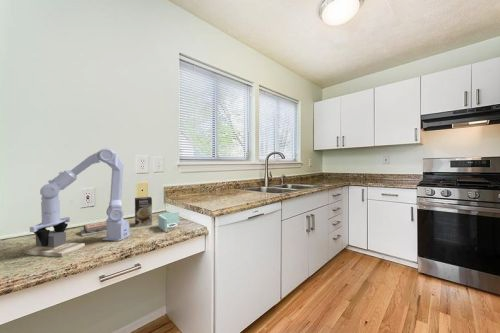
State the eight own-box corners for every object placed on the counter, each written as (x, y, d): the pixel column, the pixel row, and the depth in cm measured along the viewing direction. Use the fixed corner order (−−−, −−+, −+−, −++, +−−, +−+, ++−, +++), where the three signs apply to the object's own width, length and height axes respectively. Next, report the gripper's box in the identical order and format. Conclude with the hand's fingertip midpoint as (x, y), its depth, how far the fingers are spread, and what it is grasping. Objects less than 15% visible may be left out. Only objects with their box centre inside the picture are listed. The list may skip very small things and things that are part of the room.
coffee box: (135, 227, 124) (134, 199, 123) (134, 224, 129) (134, 197, 129) (152, 224, 128) (152, 197, 127) (151, 222, 134) (151, 196, 133)
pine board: (84, 246, 96) (84, 243, 96) (62, 256, 86) (61, 253, 86) (50, 244, 98) (50, 241, 98) (24, 254, 88) (24, 250, 88)
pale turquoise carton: (165, 233, 115) (165, 219, 115) (158, 227, 124) (158, 214, 124) (186, 228, 123) (186, 215, 123) (178, 223, 132) (178, 211, 132)
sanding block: (66, 244, 94) (65, 232, 94) (54, 249, 89) (53, 236, 89) (48, 243, 96) (48, 231, 95) (36, 248, 91) (35, 235, 90)
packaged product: (118, 217, 128) (122, 221, 120) (118, 225, 128) (122, 229, 120) (80, 223, 116) (81, 228, 108) (80, 232, 116) (81, 237, 108)
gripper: (60, 207, 100) (61, 236, 100) (22, 215, 85) (24, 249, 86) (73, 208, 99) (74, 237, 99) (37, 216, 84) (39, 250, 85)
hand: (51, 243), depth 92 cm, fingers closed on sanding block, 5 cm apart
